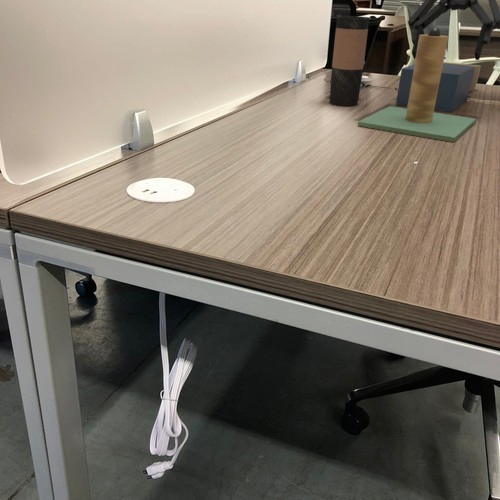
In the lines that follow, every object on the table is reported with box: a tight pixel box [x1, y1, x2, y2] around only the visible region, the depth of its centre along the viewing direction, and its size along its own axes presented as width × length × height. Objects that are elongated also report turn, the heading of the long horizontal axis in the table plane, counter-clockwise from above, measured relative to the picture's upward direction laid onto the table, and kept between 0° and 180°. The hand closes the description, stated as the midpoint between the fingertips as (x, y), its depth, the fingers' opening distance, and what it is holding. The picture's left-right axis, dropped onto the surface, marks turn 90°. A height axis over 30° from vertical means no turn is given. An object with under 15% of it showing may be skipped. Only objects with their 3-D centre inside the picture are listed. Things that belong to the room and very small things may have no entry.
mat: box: [357, 105, 477, 143], centre depth 110 cm, size 20×20×1 cm
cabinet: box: [395, 63, 474, 113], centre depth 130 cm, size 17×14×9 cm
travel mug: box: [329, 15, 370, 107], centre depth 124 cm, size 8×8×20 cm
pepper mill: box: [405, 27, 449, 123], centre depth 106 cm, size 6×6×18 cm
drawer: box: [443, 61, 481, 92], centre depth 141 cm, size 20×13×7 cm, turn 147°
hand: (444, 56), depth 113 cm, fingers open, 13 cm apart
